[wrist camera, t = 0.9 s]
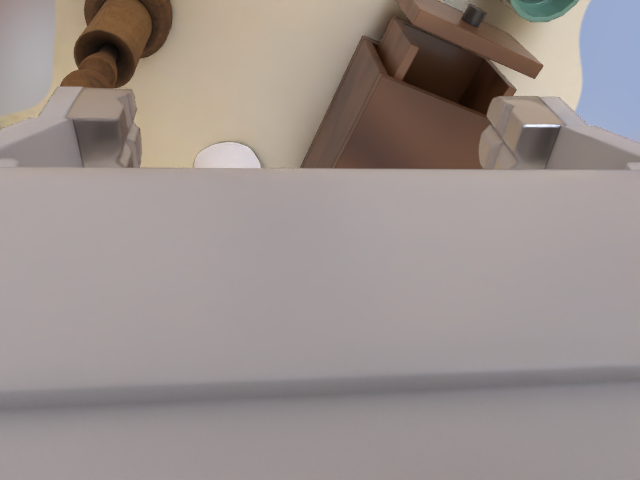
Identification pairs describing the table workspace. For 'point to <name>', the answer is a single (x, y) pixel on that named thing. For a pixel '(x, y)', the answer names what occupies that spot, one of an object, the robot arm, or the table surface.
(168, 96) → the table surface
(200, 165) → the white curved flat piece
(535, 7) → the cylindrical container
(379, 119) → the cabinet
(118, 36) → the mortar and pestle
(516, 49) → the drawer
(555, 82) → the table surface
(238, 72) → the table surface
